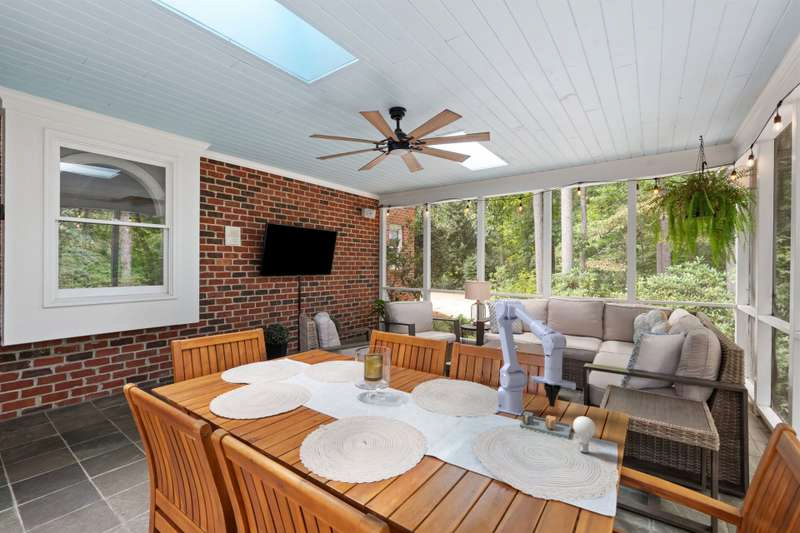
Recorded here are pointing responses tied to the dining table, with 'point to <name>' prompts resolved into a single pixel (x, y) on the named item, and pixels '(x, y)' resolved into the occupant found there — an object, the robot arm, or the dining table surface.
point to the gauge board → (539, 425)
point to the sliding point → (550, 422)
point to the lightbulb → (584, 431)
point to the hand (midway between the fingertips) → (552, 405)
